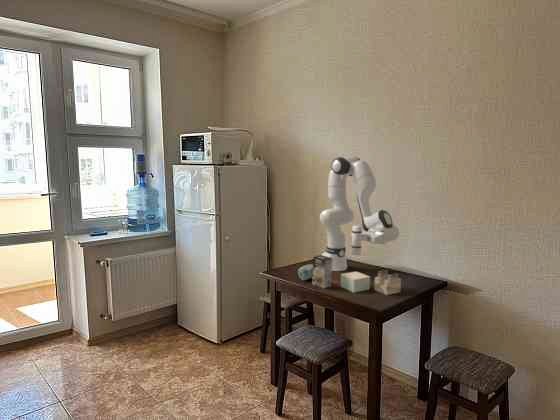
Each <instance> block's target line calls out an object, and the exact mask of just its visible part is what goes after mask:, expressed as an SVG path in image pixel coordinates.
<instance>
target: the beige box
mask: <svg viewBox="0 0 560 420" xmlns="http://www.w3.org/2000/svg"><path fill="white" fill-rule="evenodd" d="M340 282H341V287H340V288H343V289H345V290H347V291H349V292H352V293H358V292H363V291H368V290H370V288H371V276H369V275H367V274H364V273H361V272H359V271H351V272H345V273H341V274H340Z"/></svg>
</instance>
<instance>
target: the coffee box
mask: <svg viewBox="0 0 560 420" xmlns="http://www.w3.org/2000/svg"><path fill="white" fill-rule="evenodd" d="M312 264H313V278H311V279H312V281H311V283H312V285H313V286H315V285H316V286H317V287H318V286H319V287H318V288H321V287H322V288H321V289H326V287H327V288H330V287H332V285H331V282H332V275H333V274H332V272H333V271H332V258H330V257H326V256H323V255H322V254H319V255H314V256H313V257H312Z"/></svg>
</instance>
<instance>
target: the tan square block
mask: <svg viewBox="0 0 560 420" xmlns="http://www.w3.org/2000/svg"><path fill="white" fill-rule="evenodd" d="M388 272H389V270H387V269H383V270H378V272H377V276H375V277H374V288H373V289H374V291H376V292H378V293H381V294H384V295H385V296H389V295H393V294H398V293H401V290H402V289H401V288H402V278H399V273H391V274H389V273H388Z"/></svg>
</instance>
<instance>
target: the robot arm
mask: <svg viewBox="0 0 560 420" xmlns="http://www.w3.org/2000/svg"><path fill="white" fill-rule="evenodd" d="M330 168H331V170H330V171H329V174H328V180H327V181H328V182H327V185H328V186H327V189H328V190H327V192H328V193H327V197H328V200H329V201H330V202H331V204H332V205H333V208H328V209H324V210H323V211H321V212H320V214H319V222H320V223H321V224H322V225H323V227H325V230H326V234H327V235H326V236H327V246H325V251H324V252H323V253H322V254H321V255H323V256H326V257H330V258H332V272H344V271H347V270H348V269H347V268H348V264H347V255H346V252H347V251H346V234H345V233H344V232H343V231H342V230H341V229H342V228H341V226H342V225H347V224H349V223H351V222H352V221H353V220H354V218H355V213H354V211H353V210H352V209H351V208H350V206H349V203H348V200H347V178H348V177H353V178H354V182H355V184H356V187H357V188H356V190H357V191H356V201H357V203H358V209H359V212H360V216H361V224H362V225H361V227H362V229H363V230H362V229H361V231H362V233H361V237H358V238H359V239H358V240H360V241H361V242H362V241H363V242H364V241H365V242H368V243H370V244H373V245H375V244H379V245H387V243H389V242H394V241H396V240H397V239H398V238H399V236H400V229H399V227H397V226H396V225H395V224H394V223H393V218H392V216H391V214H390V213H389V212H388V211H387V210H384V209H381V210H378V211H376V212H374V213H373V214H372V212H371V208H370V203H369V201H370V197H371V196H372V194H373V193H374V191H375V190H376V186H377V180H376V177H375V175H374V172H373V171H372V168H371V167H370V165H369V164H368V162H367V161H365V160H363V159H362V160H361V158H358V157H356V156H355V157H354V156H339V157H336V158H334V159H333V160H332V162H331V166H330ZM352 234H353V232H352V230H351V231H350V239H352Z"/></svg>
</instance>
